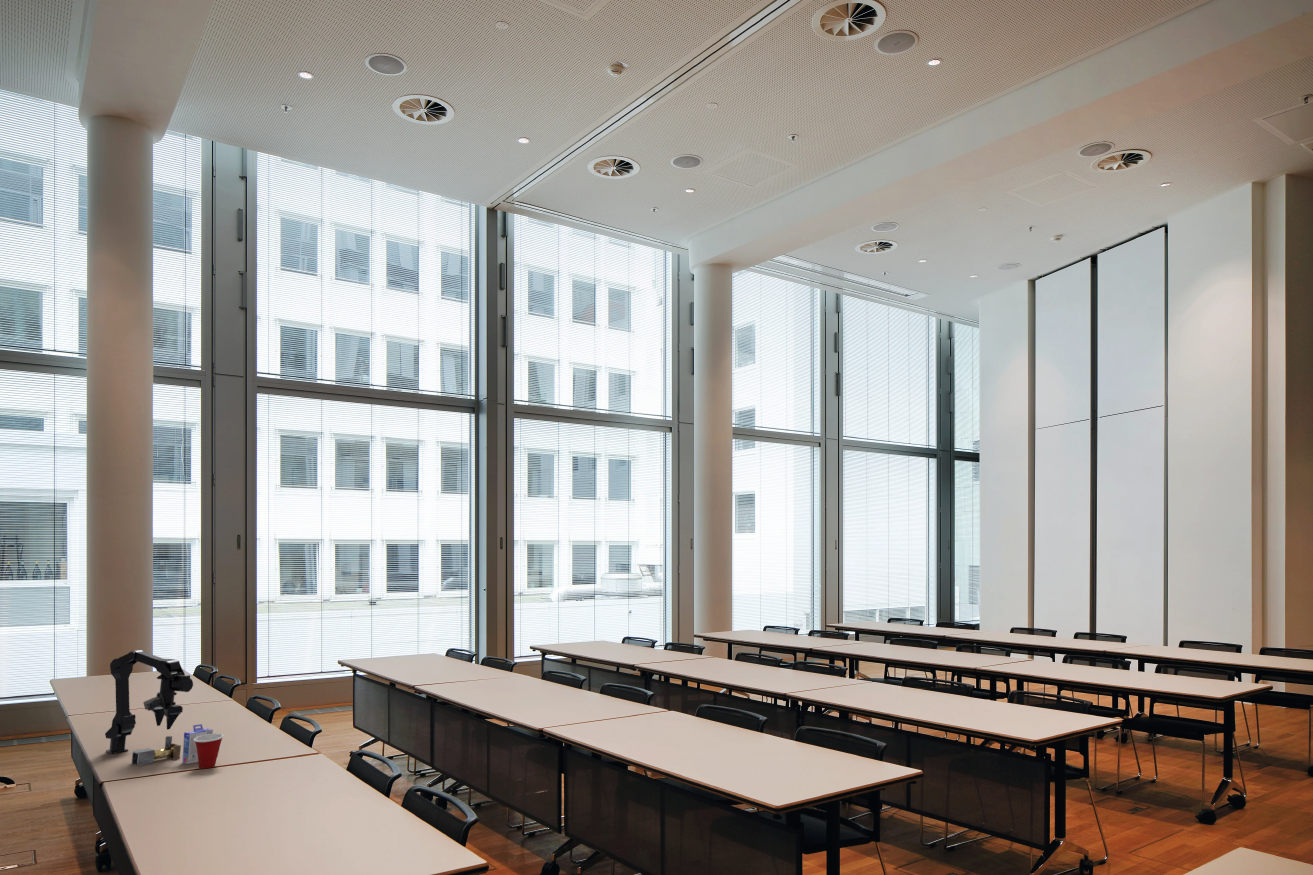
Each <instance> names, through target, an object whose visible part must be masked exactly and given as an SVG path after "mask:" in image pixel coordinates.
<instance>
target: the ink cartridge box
mask: <svg viewBox="0 0 1313 875" xmlns="http://www.w3.org/2000/svg"><path fill="white" fill-rule="evenodd" d="M196 727H198V728H196ZM192 728H193V729H192V730H191V731H186V732H184V733H183V748H182V763H183V764H185V765H190V764H195V763H198V755H197V747H196V743H195V741H194V738H196V737H198V736H202V735H206V734H214V729H211V728H203V724H202V723H199V724H194V725H192Z"/></svg>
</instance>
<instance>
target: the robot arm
mask: <svg viewBox="0 0 1313 875" xmlns="http://www.w3.org/2000/svg"><path fill="white" fill-rule="evenodd" d="M138 663H141V664H144V665H146V666H148V667H152V668H154V669H155V670H156V672H158V673H160V675H158V676H157V677H156V679H157V680H160V685H159V691H158V692H157V693H156V696H155V697H152V698H149V699H148V700H145V701H144V702H142V703H143V707H144V709H145V710H146V711H148V712H149V711H151V712H152V713H153V714H154V718H155V723H156V727H160V726H161V724H162V722H163V719H164V717H165V718H166V730H171V728H172V726H173V725H174V723H175V721H176V720H177V719H178V717H179V716H180V715H181V713H183V708H184V707H183V706H182V705H180V704H176V701H175V696H176V695H177V694H178V692H183V693H189V692H190V691H191V690H192V688H193V686H194V682H193V679H192V678H191V675H186V674H185V670H184V669H183V667H182V666H181V664H180V661H179V660H178V659H174V658H163V657H159V656H157V655H154V654H152V653H149V652H146V651H144V650H143V649H135V650H130V652H128V653H126V654H123V655H122V656H120V657H118V658H114V659H112V661H111V662H110V664H109V669H110V674H111V676H112V677H113V678H114V680H115V681H114V682H115V684H114V685H115V714H114V717H113V718H112V721H111V726H110V728H109V729H108V730H107V731H106V732H105V733H104V736H105V738H106V739H107V740H108V739H109V740H110V741H109V749H106V750H105V752H107V753H108V754H109V753H110V754H117V753H118V754H119V753H123V752H128V751H129V749H127V748H126V743H127V742H126V741H127V736H131V735H132V733H133V731H134V729H135V726H136V725H137V722H136V716H137V715H136V714H132V712H131V710H130V709H131V708H130V684H129V683H130V676H131V674H132V672H133V668H134V665H136V664H138Z"/></svg>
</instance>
